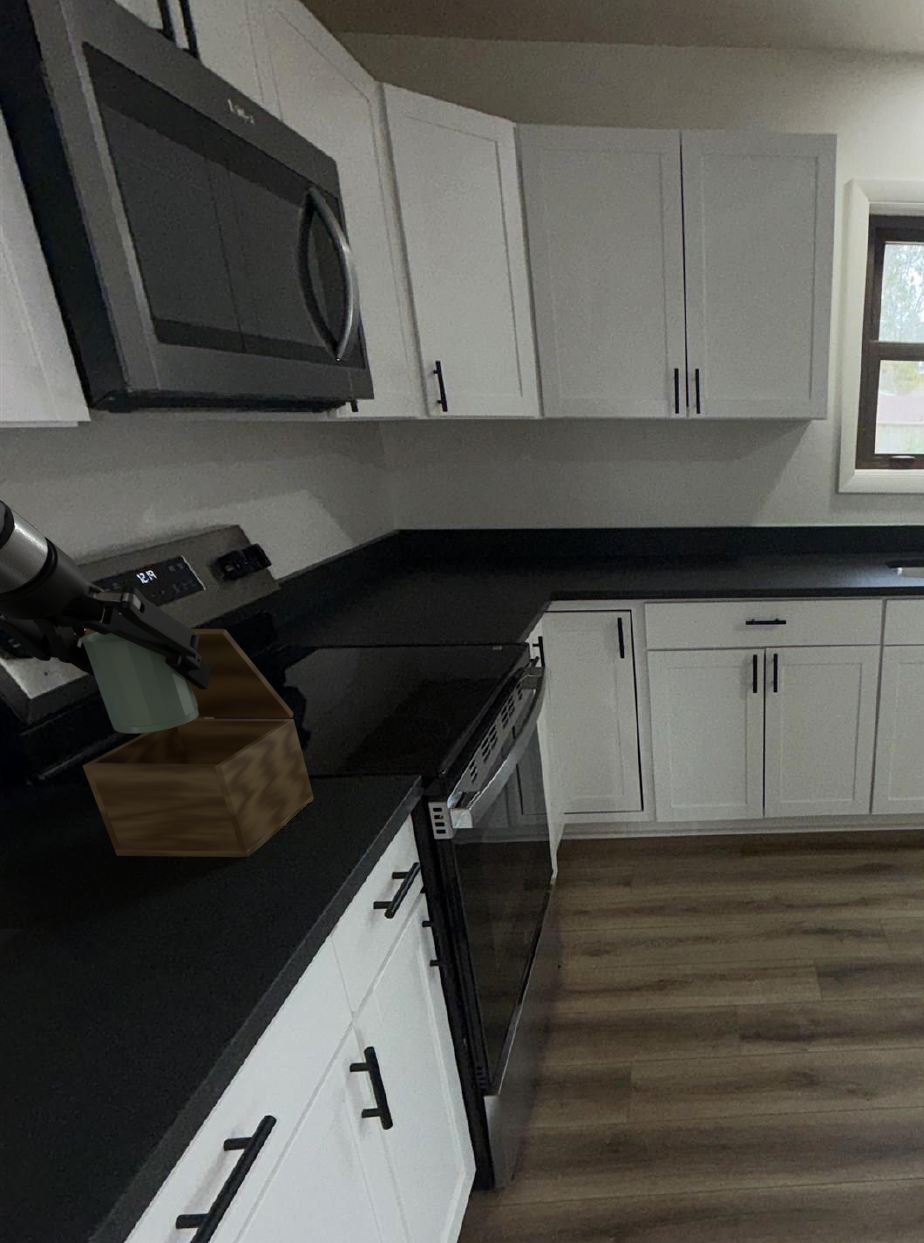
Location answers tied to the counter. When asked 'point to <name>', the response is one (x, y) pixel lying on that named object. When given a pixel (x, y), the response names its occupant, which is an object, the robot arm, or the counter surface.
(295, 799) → the chest
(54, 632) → the robot arm
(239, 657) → the lid
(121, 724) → the cup
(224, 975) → the counter surface
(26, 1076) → the counter surface
